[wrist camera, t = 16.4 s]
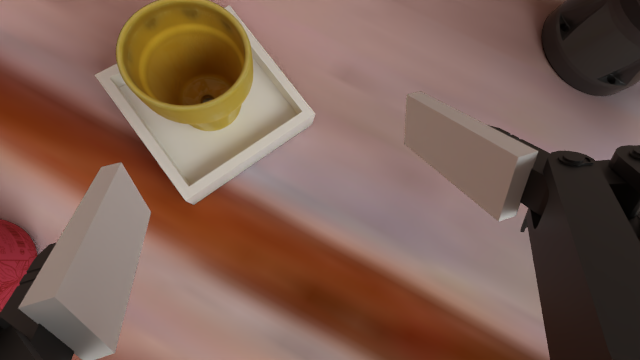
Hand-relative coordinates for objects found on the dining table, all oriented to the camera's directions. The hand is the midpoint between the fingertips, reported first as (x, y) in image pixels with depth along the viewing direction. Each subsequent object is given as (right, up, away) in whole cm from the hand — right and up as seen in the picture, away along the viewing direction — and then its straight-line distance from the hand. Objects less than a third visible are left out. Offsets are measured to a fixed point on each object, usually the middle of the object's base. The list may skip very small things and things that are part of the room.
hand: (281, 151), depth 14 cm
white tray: (-10, +7, +20) cm, 24 cm away
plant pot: (-10, +7, +19) cm, 23 cm away
